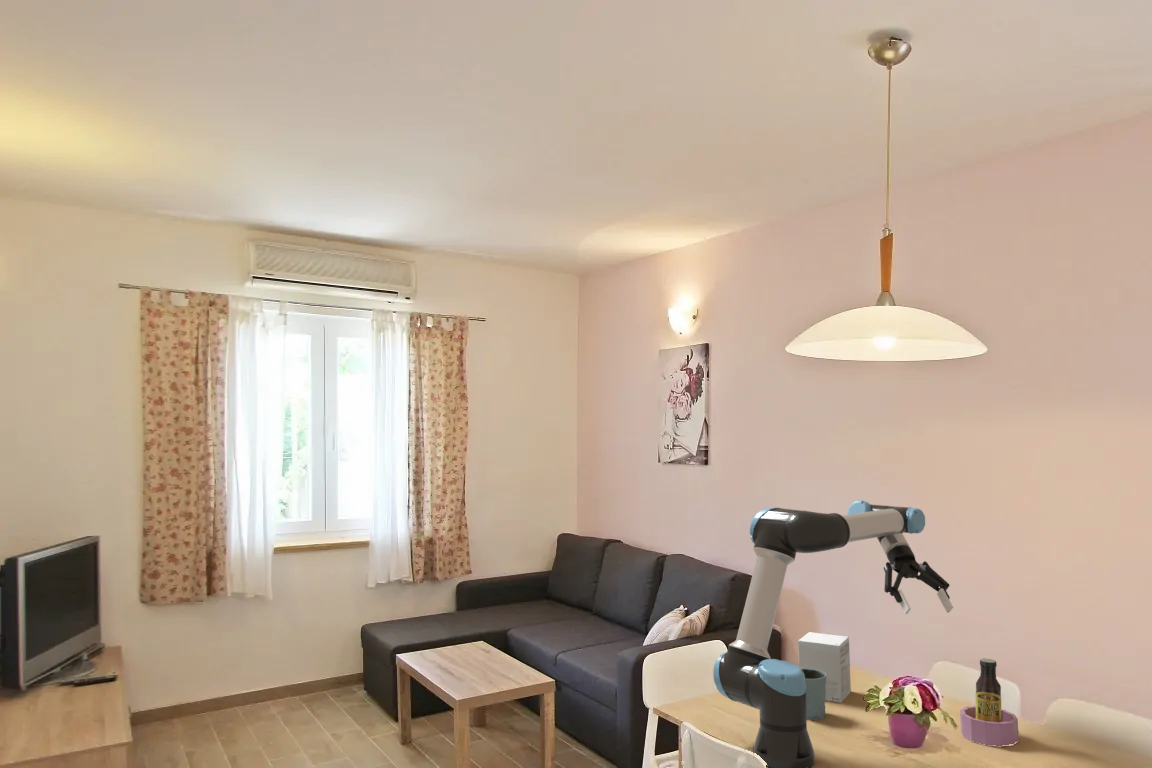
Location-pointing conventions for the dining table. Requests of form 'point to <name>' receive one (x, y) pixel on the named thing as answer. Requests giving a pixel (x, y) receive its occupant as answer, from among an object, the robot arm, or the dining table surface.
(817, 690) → the teal cup
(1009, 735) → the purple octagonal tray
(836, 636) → the supplement box
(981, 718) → the sauce bottle
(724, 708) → the dining table surface
